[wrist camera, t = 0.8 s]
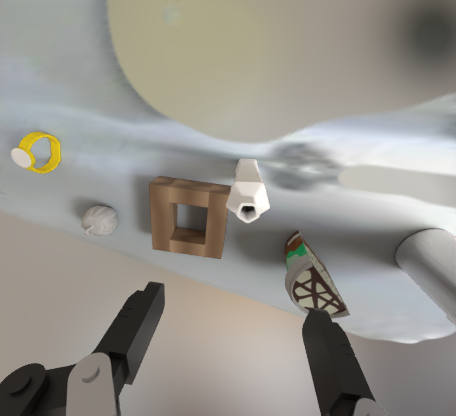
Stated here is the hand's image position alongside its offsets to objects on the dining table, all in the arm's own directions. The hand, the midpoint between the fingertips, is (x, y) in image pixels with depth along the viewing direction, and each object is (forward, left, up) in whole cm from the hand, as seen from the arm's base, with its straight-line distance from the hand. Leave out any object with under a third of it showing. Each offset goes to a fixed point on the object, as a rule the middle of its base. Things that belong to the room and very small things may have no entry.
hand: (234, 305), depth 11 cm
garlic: (+24, +11, -24) cm, 35 cm away
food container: (-12, +14, -24) cm, 30 cm away
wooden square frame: (+8, +8, -24) cm, 26 cm away
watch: (+31, 0, -24) cm, 39 cm away
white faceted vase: (0, -1, -24) cm, 24 cm away
